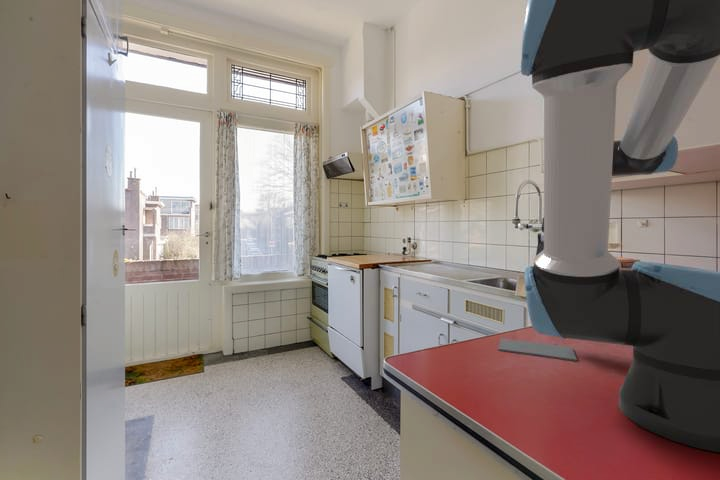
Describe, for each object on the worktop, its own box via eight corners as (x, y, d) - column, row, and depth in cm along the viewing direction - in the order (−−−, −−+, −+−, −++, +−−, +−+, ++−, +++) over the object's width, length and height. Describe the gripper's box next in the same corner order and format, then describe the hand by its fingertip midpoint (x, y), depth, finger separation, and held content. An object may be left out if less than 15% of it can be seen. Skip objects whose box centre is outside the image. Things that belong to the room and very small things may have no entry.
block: (528, 280, 87) (578, 284, 77) (525, 299, 86) (576, 306, 76) (518, 275, 84) (568, 279, 74) (514, 295, 83) (565, 301, 73)
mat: (576, 361, 73) (576, 359, 73) (498, 350, 80) (498, 348, 80) (572, 348, 81) (572, 346, 81) (500, 339, 88) (500, 338, 88)
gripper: (561, 230, 91) (550, 315, 86) (526, 206, 81) (511, 299, 77) (592, 229, 84) (582, 320, 80) (558, 202, 75) (544, 303, 70)
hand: (547, 309), depth 78 cm, fingers closed on block, 5 cm apart
